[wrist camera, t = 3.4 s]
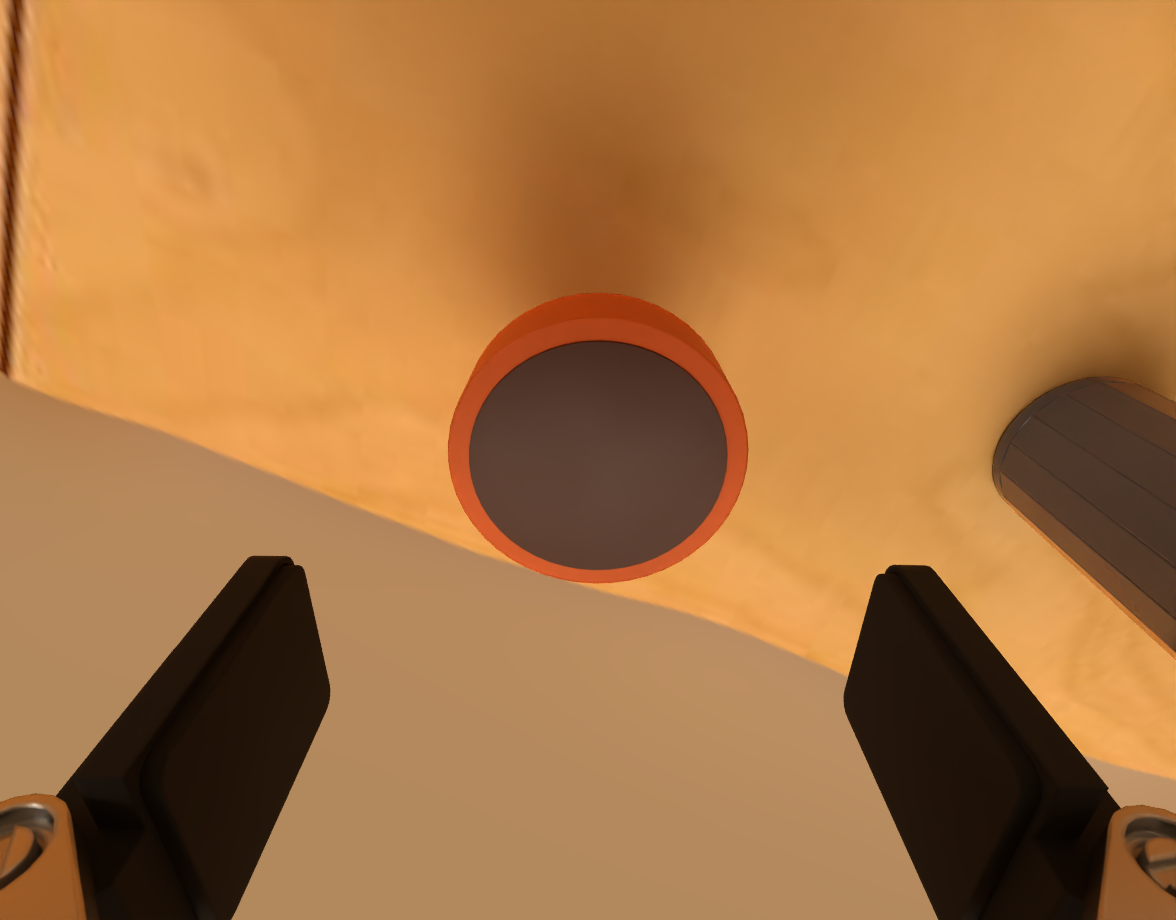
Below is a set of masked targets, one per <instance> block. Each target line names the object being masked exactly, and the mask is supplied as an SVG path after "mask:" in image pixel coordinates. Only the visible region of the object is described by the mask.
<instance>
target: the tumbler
mask: <svg viewBox="0 0 1176 920" xmlns="http://www.w3.org/2000/svg"><path fill="white" fill-rule="evenodd" d="M993 478H994V483H995V486H996V488H997V491H998V493H999V494H1000V496H1001V497H1002V498H1003V500H1004V501H1005V502H1006V503H1007V504H1008V505H1009V506H1010V507H1012V508H1013V510H1014V511H1015V512H1016V513H1017V514H1018V515H1019V516H1020V517H1021V518H1022V519H1023V520H1024V521H1025V522H1026V523H1027V524H1028V525H1029V526H1031V527H1032V528H1033V529H1034V530H1035V531H1036V532H1037V533H1038V534H1039V535H1040V536H1041V537H1043V538H1044V539H1045V540H1046V541H1047V542H1048V543H1049V544H1050V545H1051V546H1052V547H1053V548H1055V549H1056V550H1057V551H1058V552H1059V553H1060V554H1061V555H1062V556H1063V557H1064V558H1065V559H1066V560H1068V561H1069V562H1070V563H1071V564H1072V565H1073V566H1074V567H1075V568H1076V569H1077V570H1078V571H1080V572H1081V573H1082V574H1083V575H1084V576H1085V577H1086V578H1087V579H1088V580H1089V581H1090V582H1091V583H1093V584H1094V585H1095V586H1096V587H1097V588H1098V589H1099V590H1100V591H1101V592H1102V593H1103V594H1105V595H1106V596H1107V597H1108V598H1109V599H1110V600H1111V601H1112V602H1113V603H1114V604H1115V605H1117V606H1118V607H1119V608H1120V609H1121V610H1122V611H1123V612H1124V613H1125V614H1126V615H1127V616H1128V617H1130V618H1131V619H1132V620H1133V621H1134V622H1135V623H1136V624H1137V625H1138V626H1139V627H1140V628H1142V629H1143V630H1144V631H1145V632H1146V633H1147V634H1148V635H1149V636H1150V637H1151V638H1152V639H1153V640H1155V641H1156V642H1157V643H1158V644H1159V645H1160V646H1161V647H1162V648H1163V649H1164V650H1165V651H1167V652H1168V653H1169V654H1170V655H1171V656H1172V657H1173V658H1174V659H1175V660H1176V402H1174V401H1172V400H1169V399H1167V398H1165V397H1163V396H1161V395H1159V394H1157V393H1155V392H1153V391H1151V390H1149V389H1146V388H1144V387H1142V386H1140V385H1138V384H1136V383H1133V382H1131V381H1128V380H1125V379H1120V378H1115V377H1092V378H1086V379H1081V380H1077V381H1073V382H1070V383H1067V384H1065V385H1062V386H1059V387H1057V388H1055V389H1053V390H1051V391H1049V392H1048V393H1046V394H1044V395H1043V396H1041V397H1039V398H1038V399H1036V400H1035V401H1034V402H1032V403H1031V404H1030V405H1028V406H1027V407H1026V408H1025V409H1024V410H1023V411H1022V412H1021V413H1020V414H1019V415H1018V416H1017V417H1016V418H1015V419H1014V420H1013V421H1012V423H1011V424H1010V425H1009V427H1008V428H1007V429H1006V431H1005V433H1004V434H1003V436H1002V438H1001V440H1000V442H999V444H998V446H997V449H996V452H995V456H994V461H993Z"/></svg>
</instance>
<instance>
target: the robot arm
mask: <svg viewBox="0 0 1176 920" xmlns="http://www.w3.org/2000/svg"><path fill="white" fill-rule="evenodd" d="M329 700H330V684H329V679H328V675H327V670H326V666H325V661H324V656H323V652H322V647H321V643H320V638H319V634H318V629H317V625H316V620H315V616H314V611H313V607H312V602H311V598H310V593H309V588H308V584H307V579H306V575H305V571H304V569H303V567H302V566H299V565H294V563H293V561H292V559H291V558H290V557H287V556H251V557H249V558H248V559H247V560H246V561H245V562H244V563H243V565H242V566H241V567H240V568H239V569H238V571H237V572H236V573H235V574H234V576H233V577H232V578H231V579H230V581H229V582H228V583H227V584H226V586H225V587H224V588H223V589H222V591H221V592H220V593H219V594H218V596H217V597H216V598H215V599H214V601H213V602H212V603H211V604H210V605H209V607H208V608H207V609H206V611H205V612H204V613H203V614H202V615H201V617H200V618H199V619H198V620H197V622H196V623H195V624H194V625H193V627H192V628H191V629H190V630H189V632H188V633H187V634H186V636H185V637H184V638H183V639H182V640H181V642H180V643H179V644H178V645H177V647H176V648H175V649H174V650H173V651H172V652H171V654H170V655H169V656H168V657H167V658H166V660H165V661H164V662H163V663H162V665H161V666H160V667H159V668H158V670H157V671H156V672H155V673H154V675H153V676H152V677H151V678H150V680H149V681H148V682H147V683H146V685H145V686H144V687H143V688H142V689H141V691H140V692H139V693H138V694H137V696H136V697H135V698H134V699H133V701H132V702H131V703H130V704H129V706H128V707H127V708H126V709H125V711H124V712H123V713H122V714H121V716H120V717H119V718H118V719H117V721H116V722H115V723H114V724H113V726H112V727H111V728H110V729H109V731H108V732H107V733H106V734H105V736H104V737H103V738H102V739H101V741H100V742H99V743H98V744H97V745H96V747H95V748H94V749H93V750H92V752H91V753H90V754H89V755H88V757H87V758H86V759H85V761H84V762H83V763H82V764H81V765H80V767H79V768H78V769H77V770H76V772H75V773H74V774H73V775H72V777H71V778H70V779H69V780H68V781H67V783H66V784H65V785H64V786H63V788H62V789H61V790H60V791H59V793H58V794H57V795H56V796H53V795H45V794H30V795H24V796H18V797H13V798H10V799H7V800H5V801H2V802H0V920H231V919H232V917H233V915H234V913H235V911H236V909H237V907H238V905H239V903H240V900H241V898H242V896H243V894H244V892H245V889H246V887H247V885H248V883H249V880H250V878H251V876H252V874H253V872H254V869H255V867H256V865H257V863H258V860H259V858H260V856H261V854H262V852H263V850H264V847H265V845H266V843H267V841H268V839H269V836H270V834H271V831H272V830H273V827H274V825H275V823H276V821H277V818H278V816H279V814H280V812H281V810H282V808H283V805H284V803H285V801H286V799H287V796H288V794H289V792H290V790H291V788H292V786H293V783H294V781H295V779H296V777H297V774H298V772H299V769H300V768H301V766H302V763H303V761H304V759H305V757H306V754H307V752H308V750H309V748H310V746H311V743H312V741H313V739H314V737H315V735H316V732H317V730H318V728H319V726H320V724H321V721H322V719H323V717H324V715H325V713H326V710H327V708H328V704H329ZM844 708H845V712H846V715H847V717H848V720H849V722H850V724H851V727H852V729H853V731H854V733H855V735H856V738H857V740H858V742H859V744H860V746H861V749H862V751H863V753H864V755H865V758H866V760H867V762H868V764H869V767H870V769H871V771H872V773H873V776H874V778H875V780H876V782H877V784H878V787H879V789H880V791H881V793H882V795H883V798H884V800H885V802H886V804H887V807H888V809H889V811H890V813H891V816H892V818H893V820H894V822H895V824H896V827H897V829H898V831H899V833H900V836H901V838H902V840H903V842H904V844H905V846H906V849H907V851H908V853H909V856H910V858H911V860H912V862H913V864H914V866H915V869H916V871H917V873H918V875H919V878H920V880H921V882H922V884H923V887H924V889H925V891H926V893H927V896H928V898H929V900H930V902H931V904H932V906H933V909H934V911H935V913H936V916H937V918H938V920H1176V814H1175V813H1172V812H1170V811H1167V810H1165V809H1160V808H1155V807H1150V806H1145V805H1136V806H1125V807H1123V808H1122V809H1121V808H1120V807H1119V806H1118V804H1117V803H1116V802H1115V801H1114V799H1113V798H1112V797H1111V795H1110V794H1109V793H1108V792H1107V790H1108V787H1107V785H1106V784H1105V783H1104V782H1103V780H1102V779H1101V778H1100V777H1099V775H1098V774H1097V773H1096V772H1095V770H1094V769H1093V768H1092V767H1091V765H1090V764H1089V763H1088V762H1087V761H1086V759H1085V758H1084V757H1083V755H1082V754H1081V753H1080V752H1079V750H1078V749H1077V748H1076V747H1075V745H1074V744H1073V743H1072V742H1071V741H1070V739H1069V738H1068V737H1067V736H1066V734H1065V733H1064V732H1063V731H1062V729H1061V728H1060V727H1059V726H1058V724H1057V723H1056V722H1055V721H1054V719H1053V718H1052V717H1051V716H1050V714H1049V713H1048V712H1047V711H1046V709H1045V708H1044V707H1043V706H1042V704H1041V703H1040V702H1039V701H1038V699H1037V698H1036V697H1035V696H1034V694H1033V693H1032V692H1031V691H1030V689H1029V688H1028V687H1027V686H1026V684H1025V683H1024V682H1023V681H1022V679H1021V678H1020V677H1019V676H1018V674H1017V673H1016V672H1015V671H1014V669H1013V668H1012V667H1011V666H1010V664H1009V663H1008V662H1007V661H1006V659H1005V658H1004V657H1003V656H1002V654H1001V653H1000V652H999V651H998V649H997V648H996V647H995V646H994V645H993V643H992V642H991V641H990V640H989V638H988V637H987V636H986V635H985V633H984V632H983V631H982V630H981V628H980V627H979V626H978V625H977V623H976V622H975V621H974V620H973V618H972V617H971V616H970V615H969V613H968V612H967V611H966V610H965V608H964V607H963V606H962V605H961V603H960V602H959V601H958V600H957V598H956V597H955V596H954V595H953V593H952V592H951V591H950V590H949V588H948V587H947V586H946V585H945V583H944V582H943V581H942V580H941V578H940V577H939V576H938V575H937V573H936V572H935V571H934V570H933V569H932V568H931V567H929V566H926V565H892V566H889V567H888V569H887V570H886V572H885V574H879V575H878V576H877V577H876V579H875V581H874V585H873V588H872V592H871V596H870V599H869V603H868V607H867V610H866V614H865V617H864V621H863V625H862V628H861V632H860V636H859V639H858V643H857V647H856V650H855V654H854V658H853V661H852V665H851V669H850V672H849V676H848V680H847V684H846V687H845V691H844Z"/></svg>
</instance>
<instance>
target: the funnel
mask: <svg viewBox="0 0 1176 920" xmlns="http://www.w3.org/2000/svg"><path fill="white" fill-rule="evenodd" d="M747 461H748V437H747V429H746V425H745V420H744V416H743V413H742V410H741V407H740V405H739V402H738V400H737V397H736V395H735V393H734V391H733V390H732V388H731V386H730V384H729V382H728V380H727V378H726V376H725V374H724V372H723V371H722V369H721V367H720V365H719V363H718V361H717V360H716V358H715V356H714V354H713V353H712V351H711V350H710V348H709V347H708V346H707V345H706V343H705V342H704V341H703V339H702V338H701V337H700V336H699V335H698V334H697V333H696V332H695V331H694V330H693V329H692V328H691V327H690V326H689V325H688V324H686V323H685V322H683V321H682V320H681V319H679V318H678V317H677V316H675V315H674V314H672V313H670V312H668V311H667V310H665V309H663V308H661V307H659V306H657V305H655V304H652V303H649V302H646V301H644V300H641V299H638V298H634V297H629V296H625V295H620V294H608V293H587V294H578V295H572V296H566V297H562V298H559V299H555V300H552V301H549V302H546V303H544V304H541V305H539V306H537V307H535V308H533V309H531V310H529V311H527V312H526V313H524V314H522V315H521V316H519V317H518V318H516V319H515V320H513V321H512V322H511V323H510V324H508V325H507V326H506V327H505V328H504V329H503V330H502V331H500V332H499V333H498V334H497V336H496V337H495V338H494V339H493V340H492V341H491V343H490V344H489V345H488V346H487V347H486V349H485V351H484V352H483V354H482V355H481V357H480V358H479V360H478V362H477V364H476V366H475V368H474V370H473V372H472V374H471V376H470V378H469V380H468V383H467V385H466V387H465V389H464V391H463V393H462V395H461V397H460V400H459V402H458V404H457V406H456V408H455V412H454V415H453V419H452V422H451V426H450V433H449V440H448V462H449V468H450V474H451V479H452V482H453V485H454V488H455V492H456V495H457V497H458V499H459V501H460V503H461V505H462V507H463V509H464V511H465V513H466V514H467V516H468V517H469V519H470V520H471V522H472V523H473V525H474V526H475V527H476V528H477V529H478V531H479V532H480V533H481V534H482V535H483V536H484V538H486V539H487V540H488V541H489V542H490V543H491V544H492V545H493V546H494V547H495V548H497V549H498V550H499V551H501V552H502V553H503V554H505V555H506V556H508V557H509V558H510V559H512V560H514V561H516V562H517V563H519V564H521V565H523V566H525V567H527V568H529V569H531V570H534V571H536V572H539V573H541V574H544V575H547V576H551V577H554V578H558V579H562V580H568V581H573V582H583V583H614V582H621V581H628V580H633V579H637V578H641V577H645V576H648V575H651V574H653V573H656V572H659V571H662V570H664V569H666V568H668V567H670V566H672V565H674V564H676V563H678V562H680V561H681V560H683V559H684V558H686V557H688V556H689V555H691V554H692V553H694V552H695V551H696V550H697V549H698V548H700V547H701V546H702V545H703V544H705V543H706V542H707V541H708V540H709V539H710V538H711V537H712V536H713V534H714V533H715V532H716V531H717V530H718V529H719V528H720V526H721V525H722V524H723V522H724V521H725V520H726V518H727V517H728V516H729V514H730V512H731V510H732V508H733V506H734V505H735V503H736V501H737V499H738V496H739V493H740V491H741V488H742V486H743V482H744V478H745V474H746V469H747Z"/></svg>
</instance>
